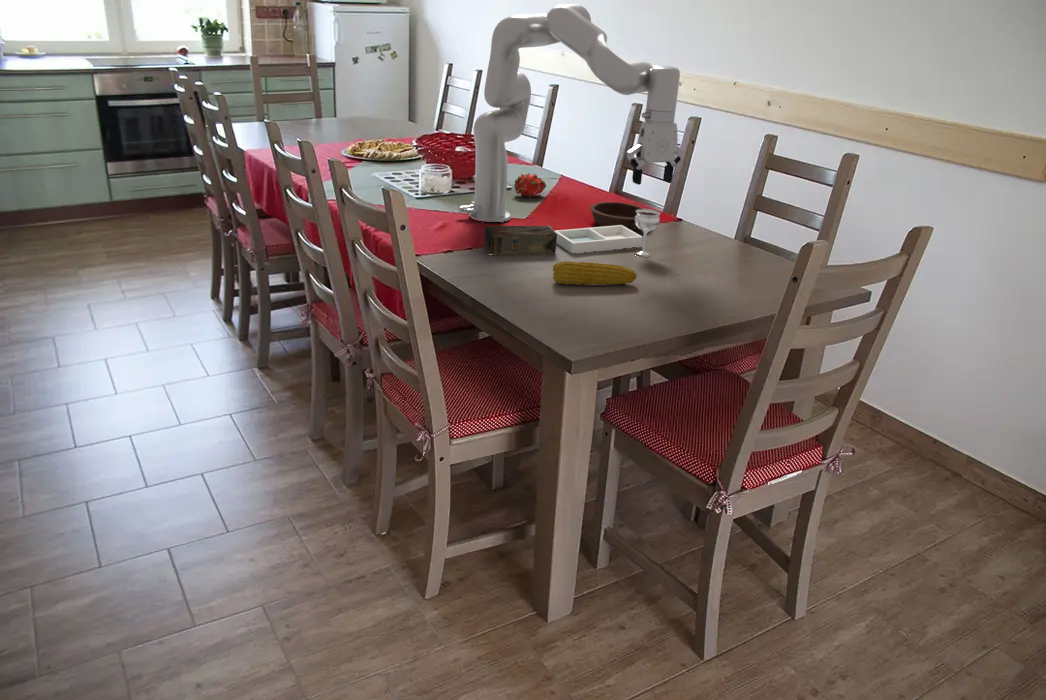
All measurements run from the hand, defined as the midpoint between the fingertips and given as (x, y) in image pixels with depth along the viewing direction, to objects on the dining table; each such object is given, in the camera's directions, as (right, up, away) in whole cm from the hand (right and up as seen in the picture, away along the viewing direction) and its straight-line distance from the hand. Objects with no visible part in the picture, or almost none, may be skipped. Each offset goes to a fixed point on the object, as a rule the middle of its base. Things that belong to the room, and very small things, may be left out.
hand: (652, 182), depth 221 cm
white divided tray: (-13, -14, +15) cm, 25 cm away
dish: (-5, -6, +34) cm, 35 cm away
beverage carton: (-35, -18, +6) cm, 40 cm away
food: (-17, -29, -14) cm, 36 cm away
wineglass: (-1, -18, +9) cm, 20 cm away
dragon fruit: (-32, +7, +58) cm, 67 cm away
